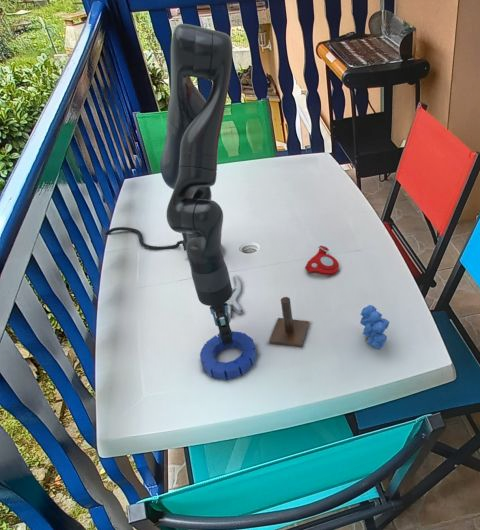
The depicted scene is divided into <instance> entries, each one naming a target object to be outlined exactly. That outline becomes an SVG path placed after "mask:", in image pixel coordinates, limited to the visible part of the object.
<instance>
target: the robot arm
mask: <svg viewBox="0 0 480 530" xmlns="http://www.w3.org/2000/svg"><path fill="white" fill-rule="evenodd" d="M232 64H233V42H232V39H231V36H230V35H229V34H227V33H226V32H222V31H219V30H214V29H211V28H207V27H202V26H198V25H194V24H188V23H180V24H179V23H178V24H177V25H176V26H175V28H174V30H173V32H172V36H171V42H170V89H169V90H170V91H169V97H168V98H169V99H168V105H167V112H166V114H167V115H166V132H165V140H164V141H165V142H164V146H163V149H162V153H161V157H160V166H159V167H160V173H161V174H160V175H161V178H162V180H163V182H164V183H165V184H166V186H167V187H168V188H169V189H172V194H171V196H170V199H169V201H168V205H167V207H166V222H167V224H168V227H170V229H171V230H172V231H173V232H175V233H178V234H179V233H180V234H181V235H182V240H179V241H176V243H175V244H173V245H167V246H156V245H155V246H154V245H150V244H146V243H145V242H144V239H143V235H142V232H141V231H140V230H138V229H136V228H133V227H127V226H118V227H112V228H110V229H108V230H106V232H105V233H104V235H106V236H108V235H110V234H111V233H113V232H116V231H127V232H133V233H136V234H137V235H138V242H139V244H140V245H141V246H142V248H143V247H144V248H145V249H148V250H155V251H161V250H163V251H164V250H171V249H177V248H179V247H180V245H182V248H183V251H185V252H186V256H187V259H188V263H189V267H190V270H191V271H190V273H191V278H192V281H193V285H194V288H195V292H196V296H197V299H198V301H199V302H200V304H202V305H204V306H208V307H209V311H210V315H212V317H213V322H214V326H215V327H217V328H218V331H219V332H218V334H220V338H221V339H222V341H223V345H229V344H232V343H233V340H232V335H233V334H232V333H231V331H232V329H231V325H230V323H231V318H230V316H229V313H228V310H229V308H228V304H227V303H226V302H227V301H228V300H229V299H232V295H233V293H234V291H233V290H232V289H233V286H232V281H231V278H230V273H229V269H228V266H227V263H226V261H225V258H224V248H223V245H222V231H223V224H224V211H223V209H222V207H221V205H220V204H219V203H217V201H215V200H213V199H212V196H213V195H212V189H211V187H213V186H214V185H215V184H216V181H217V176H218V175H217V173H218V172H217V171H218V158H219V143H220V135H221V130H222V124H223V119H224V115H225V110H226V103H227V97H228V92H229V86H230V80H231V73H232V67H233V65H232ZM191 77H192V78H196V79H201V80H206V81H207V80H208V81H211V82H212V84H211V89H210V93H209V96H208V98H207V100H206V98H205V97H204V95H203V94H202V93H201V91H200V90H199V89H198V88H197V87H196V85H195V83H194V82H193V80H192V78H191Z"/></svg>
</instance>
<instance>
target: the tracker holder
mask: <svg viewBox="0 0 480 530" xmlns="http://www.w3.org/2000/svg"><path fill="white" fill-rule="evenodd" d="M317 247H318V251H317V252H316V254H315V255H314V256H312V257H311V258H310V259H309V260H308V261H307V263H306V266H305V267H304V268H305V271H306V272H307V274H310V273H313V274H319V275H322V276H334V275H336V274H337V273H338V272H339V268H340V264H339V261H338V260H337V259H336V258H335V257H334V256H333V255H331V254H329V253H327V252H329V251H330V249H328V248H329V247H327V246H326V245H322V244H321V245H318V246H317Z"/></svg>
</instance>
